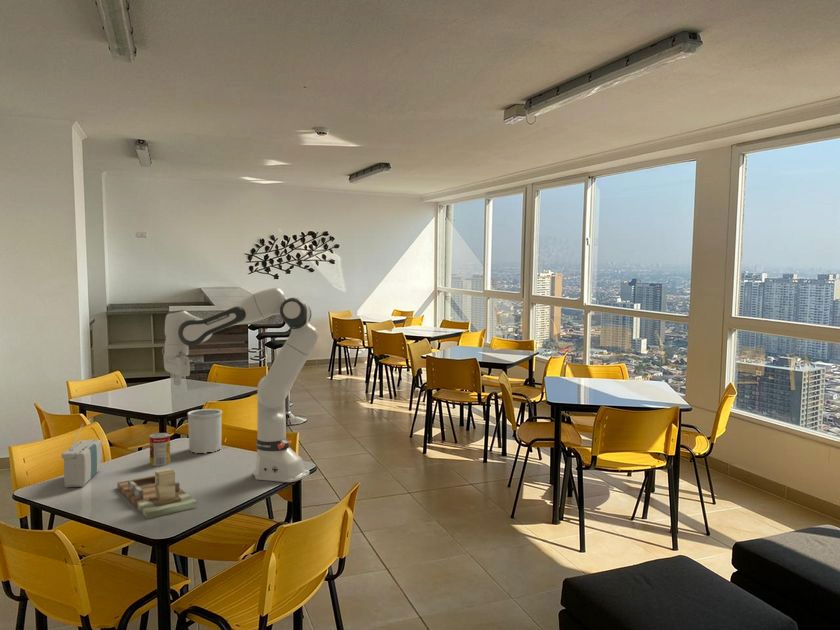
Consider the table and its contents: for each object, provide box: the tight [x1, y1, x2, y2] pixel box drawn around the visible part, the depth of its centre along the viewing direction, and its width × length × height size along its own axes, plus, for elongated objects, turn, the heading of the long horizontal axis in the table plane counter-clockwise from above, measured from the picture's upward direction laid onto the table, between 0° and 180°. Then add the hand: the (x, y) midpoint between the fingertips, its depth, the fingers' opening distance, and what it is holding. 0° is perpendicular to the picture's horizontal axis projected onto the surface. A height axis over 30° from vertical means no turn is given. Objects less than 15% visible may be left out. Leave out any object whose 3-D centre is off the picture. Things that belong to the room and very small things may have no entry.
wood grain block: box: [149, 468, 181, 506], centre depth 206 cm, size 8×8×10 cm
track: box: [116, 475, 198, 519], centre depth 214 cm, size 37×16×5 cm, turn 40°
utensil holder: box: [187, 408, 223, 454], centre depth 275 cm, size 15×15×18 cm
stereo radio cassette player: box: [60, 423, 103, 488], centre depth 232 cm, size 21×8×20 cm, turn 11°
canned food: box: [149, 432, 171, 467], centre depth 254 cm, size 8×8×12 cm
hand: (177, 384), depth 243 cm, fingers closed
